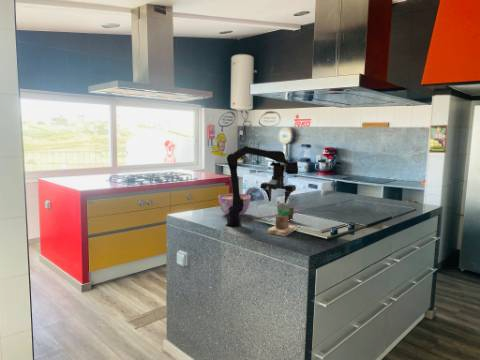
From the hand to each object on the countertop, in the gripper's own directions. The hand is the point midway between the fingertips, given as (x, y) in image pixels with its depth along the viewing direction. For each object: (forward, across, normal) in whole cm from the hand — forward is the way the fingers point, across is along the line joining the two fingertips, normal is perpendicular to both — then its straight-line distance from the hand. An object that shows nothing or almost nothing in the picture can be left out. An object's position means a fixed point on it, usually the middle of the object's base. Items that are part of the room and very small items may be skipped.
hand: (277, 202), depth 203 cm
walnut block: (+11, +7, -9) cm, 16 cm away
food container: (+13, -2, +13) cm, 19 cm away
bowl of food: (+13, -32, +8) cm, 36 cm away
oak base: (+13, +7, -9) cm, 17 cm away
